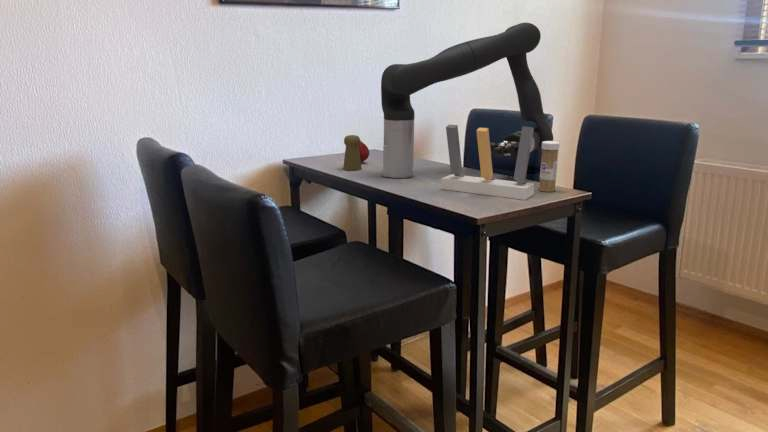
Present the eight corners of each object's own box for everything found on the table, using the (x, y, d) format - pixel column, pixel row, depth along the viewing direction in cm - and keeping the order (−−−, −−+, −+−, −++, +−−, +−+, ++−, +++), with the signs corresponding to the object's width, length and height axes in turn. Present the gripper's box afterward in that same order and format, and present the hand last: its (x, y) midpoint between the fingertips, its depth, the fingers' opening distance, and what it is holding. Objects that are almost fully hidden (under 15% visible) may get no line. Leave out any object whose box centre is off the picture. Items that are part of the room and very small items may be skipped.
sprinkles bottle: (535, 190, 164) (539, 141, 161) (543, 187, 167) (546, 140, 164) (551, 193, 161) (555, 143, 158) (558, 190, 165) (562, 141, 161)
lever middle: (481, 180, 162) (476, 130, 154) (484, 177, 163) (479, 127, 155) (490, 181, 160) (485, 131, 152) (493, 178, 162) (488, 128, 154)
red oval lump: (372, 162, 205) (372, 139, 203) (363, 165, 200) (362, 141, 198) (358, 161, 208) (358, 138, 206) (348, 163, 203) (348, 140, 201)
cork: (359, 171, 190) (359, 136, 187) (340, 170, 191) (340, 136, 189) (363, 167, 196) (363, 134, 193) (345, 167, 197) (345, 133, 194)
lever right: (512, 182, 157) (522, 126, 157) (515, 183, 158) (524, 127, 158) (522, 183, 155) (531, 126, 155) (524, 184, 157) (533, 128, 157)
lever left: (451, 177, 166) (445, 127, 159) (454, 173, 168) (448, 124, 160) (459, 178, 165) (454, 128, 157) (462, 174, 166) (457, 125, 159)
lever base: (440, 189, 166) (441, 177, 165) (451, 184, 171) (452, 173, 170) (524, 199, 153) (525, 187, 153) (533, 194, 159) (534, 182, 158)
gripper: (498, 130, 182) (475, 137, 167) (541, 133, 175) (521, 140, 161) (497, 155, 184) (474, 163, 169) (539, 159, 177) (519, 168, 163)
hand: (497, 152), depth 165 cm, fingers closed
